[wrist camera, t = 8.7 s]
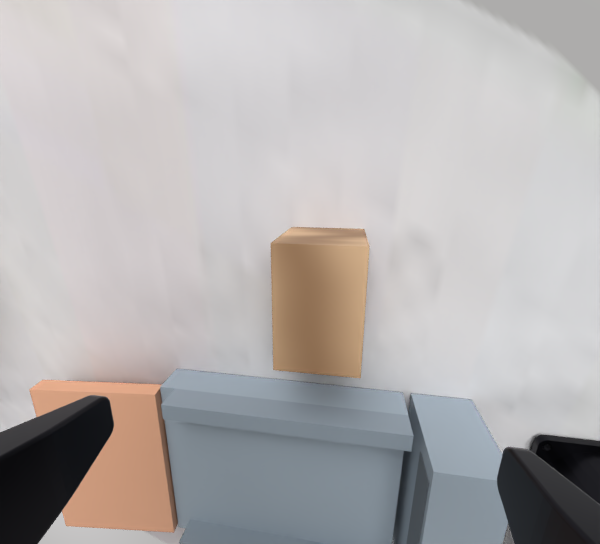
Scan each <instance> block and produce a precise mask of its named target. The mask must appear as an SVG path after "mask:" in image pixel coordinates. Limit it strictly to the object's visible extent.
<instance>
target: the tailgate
mask: <svg viewBox="0 0 600 544" xmlns="http://www.w3.org/2000/svg"><path fill="white" fill-rule="evenodd" d="M160 386H161V384H136V383H111V382H85V381H60V380H42V381H40V382H39V383H38V384H36V385H35V386H34V387H32V388H31V389H29V390H30V394H31V398H32V401H33V405H34V409H35V412H36V416H37V417H39V416H41V415H43V414H46V413H48V412H51V411H53V410H55V409H58V408H60V407H62V406H65V405H67V404H70V403H72V402H74V401H77V400H79V399H82V398H84V397H86V396H89V395H98V396H105V397H107V398H108V399H109V400H110V404H111V410H112V415H113V421H114V428H113V432H112V434H111V436H110V437H109V439H108V441H107V442H106V444H105V445H104V447H103V449H102V450H101V452H100V453H99V455H98V456H97V458H96V460H95V461H94V463H93V464H92V466H91V468H90V469H89V471H88V472H87V474H86V475H85V477H84V479H83V480H82V482H81V483H80V485H79V487H78V488H77V490H76V491H75V493H74V494H73V496H72V497H71V499H70V500H69V502H68V503H67V505H66V506H65V507H64V509H63V510H62V513H63V516H64V520H65V524H66V526H75V527H92V528H109V529H125V530H142V531H159V532H174V531H175V529H176V526H177V524H178V519H177V511H176V503H175V496H174V488H173V481H172V473H171V466H170V458H169V451H168V443H167V436H166V428H165V421H164V419H163V416H162V409H161V404H162V398H161V390H160Z"/></svg>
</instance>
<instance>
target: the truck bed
mask: <svg viewBox="0 0 600 544" xmlns="http://www.w3.org/2000/svg"><path fill="white" fill-rule="evenodd" d="M160 390H161V398H162V404H161V409H162V416H163V419H164V421H165V428H166V436H167V443H168V451H169V458H170V466H171V473H172V481H173V488H174V496H175V503H176V511H177V519H178V526H179V527H181V528H186V529H185V531H184V533H183V536H182V538H181V540H180V542H179V543H180V544H392V539H393V540H394V544H503V540H504V536H505V533H506V529H507V525H508V520H507V517H506V514H505V511H504V507H503V504H502V501H501V498H500V495H499V491H498V487H497V475H498V471H499V467H500V463H501V459H502V453H501V451H500V449H499V448H498V446H497V444H496V442H495V440H494V439H493V437H492V435H491V433H490V431H489V430H488V428H487V426H486V424H485V423H484V421H483V419H482V417H481V415H480V414H479V412H478V410H477V408H476V406H475V405H474V403H473V401H472V400H470V399H461V398H451V397H442V396H432V395H423V394H413V393H411V398H410V406H409V414H408V412H407V407H406V403H405V399H404V395H403V392H394V391H385V390H375V389H365V388H356V387H346V386H337V385H327V384H318V383H308V382H299V381H289V380H280V379H270V378H261V377H251V376H241V375H232V374H222V373H213V372H203V371H194V370H184V369H176V370H175V371H174V372H173V373H172V374H171V376H170V377H169V378H168V379H167V380H166V381H165V382H164V383H163V384H162V385H161V386H160Z"/></svg>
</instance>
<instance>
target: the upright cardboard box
mask: <svg viewBox="0 0 600 544" xmlns="http://www.w3.org/2000/svg"><path fill="white" fill-rule="evenodd" d="M368 260H369V244H368V240H367V237H366V234H365V230H364V229H345V228H308V227H291V228H290V229H289V230H287V231H286V232H285V233H283V234H282V235H281V236H279V237H278V238H277V239H276V240H274V241H273V242H272V243H271V279H272V327H273V370H279V371H289V372H300V373H311V374H321V375H332V376H342V377H353V378H361V363H362V348H363V334H364V319H365V304H366V289H367V274H368Z"/></svg>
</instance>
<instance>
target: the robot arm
mask: <svg viewBox="0 0 600 544" xmlns="http://www.w3.org/2000/svg"><path fill="white" fill-rule="evenodd" d="M113 428H114V421H113V415H112V410H111V404H110V400H109V399H108V398H107V397H105V396H98V395H89V396H86V397H84V398H82V399H79V400H77V401H74V402H72V403H70V404H67V405H65V406H62V407H60V408H58V409H55V410H53V411H51V412H48V413H46V414H43V415H41V416H39V417H36V418H34V419H31V420H29V421H27V422H24V423H22V424H19V425H17V426H15V427H12V428H10V429H8V430H5V431H3V432H0V544H38V543H39V541H40V540H41V539H42V537H43V536H44V535H45V533H46V532H47V530H48V529H49V528H50V526H51V525H52V524H53V522H54V521H55V520H56V518H57V517H58V516H59V514H60V513H61V512H62V510H63V509H64V507H65V506H66V505H67V503H68V502H69V500H70V499H71V497H72V496H73V494H74V493H75V491H76V490H77V488H78V487H79V485H80V483H81V482H82V480H83V479H84V477H85V475H86V474H87V472H88V471H89V469H90V468H91V466H92V464H93V463H94V461H95V460H96V458H97V456H98V455H99V453H100V452H101V450H102V449H103V447H104V445H105V444H106V442H107V441H108V439H109V437H110V436H111V434H112V432H113ZM544 444H546V445H544ZM497 487H498V491H499V495H500V498H501V501H502V504H503V507H504V511H505V514H506V517H507V520H508V523H509V527H510V530H511V533H512V536H513V539H514V543H515V544H600V441H592V440H583V439H575V438H566V437H557V436H549V435H540V436H538V437H536V438H535V440H534V442H533V446H532V450H531V451H530V450H528V449H523V448H515V447H507V448H505V449H504V451H503V454H502V459H501V463H500V467H499V471H498V475H497Z"/></svg>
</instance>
